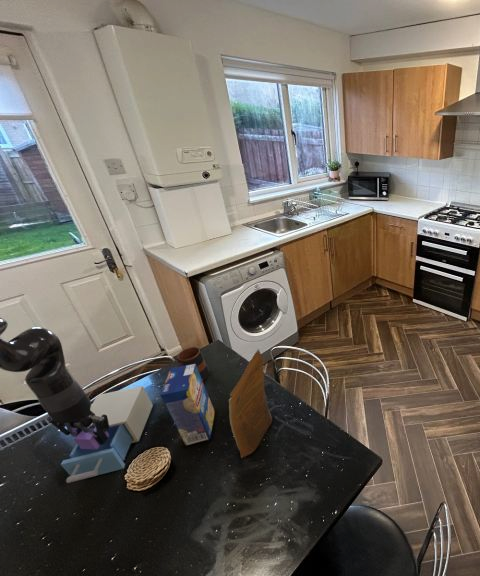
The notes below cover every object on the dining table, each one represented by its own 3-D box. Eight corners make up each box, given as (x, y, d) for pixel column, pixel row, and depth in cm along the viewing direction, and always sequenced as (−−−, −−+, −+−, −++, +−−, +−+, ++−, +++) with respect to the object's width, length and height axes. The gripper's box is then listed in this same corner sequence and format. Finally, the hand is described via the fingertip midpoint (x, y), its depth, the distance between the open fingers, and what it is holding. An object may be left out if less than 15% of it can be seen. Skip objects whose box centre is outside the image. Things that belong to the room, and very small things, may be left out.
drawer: (116, 485, 84) (104, 468, 80) (65, 499, 81) (49, 482, 77) (139, 428, 99) (130, 412, 96) (97, 438, 96) (85, 422, 93)
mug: (172, 387, 116) (160, 364, 110) (198, 366, 125) (189, 343, 120) (189, 393, 113) (178, 370, 107) (215, 371, 123) (206, 348, 117)
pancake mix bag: (283, 411, 106) (268, 348, 92) (252, 465, 90) (228, 398, 76) (265, 408, 107) (248, 345, 94) (231, 461, 91) (204, 394, 77)
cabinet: (138, 441, 96) (126, 421, 92) (89, 453, 93) (74, 433, 88) (153, 405, 109) (142, 385, 104) (110, 414, 105) (97, 394, 100)
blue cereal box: (214, 411, 106) (195, 363, 96) (210, 439, 97) (188, 389, 86) (192, 416, 104) (170, 368, 94) (185, 445, 95) (160, 395, 85)
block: (81, 449, 85) (73, 439, 83) (94, 434, 89) (87, 424, 87) (96, 449, 85) (89, 439, 83) (109, 435, 89) (102, 425, 87)
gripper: (103, 388, 82) (130, 430, 90) (51, 387, 82) (82, 429, 90) (78, 412, 75) (109, 455, 84) (22, 411, 76) (58, 453, 84)
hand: (95, 441), depth 87 cm, fingers closed on block, 4 cm apart
